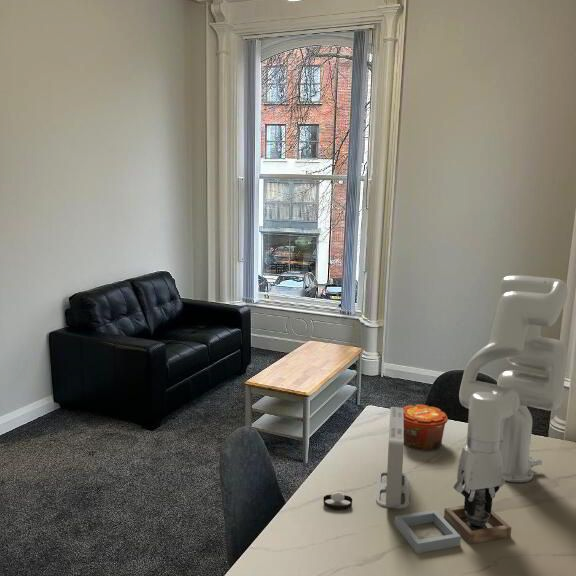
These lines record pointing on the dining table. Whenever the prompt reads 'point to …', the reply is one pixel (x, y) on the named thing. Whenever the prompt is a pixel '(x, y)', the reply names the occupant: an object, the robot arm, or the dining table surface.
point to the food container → (423, 427)
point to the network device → (394, 465)
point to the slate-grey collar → (431, 543)
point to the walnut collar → (476, 536)
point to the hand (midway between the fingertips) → (477, 510)
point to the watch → (337, 498)
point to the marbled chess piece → (478, 512)
